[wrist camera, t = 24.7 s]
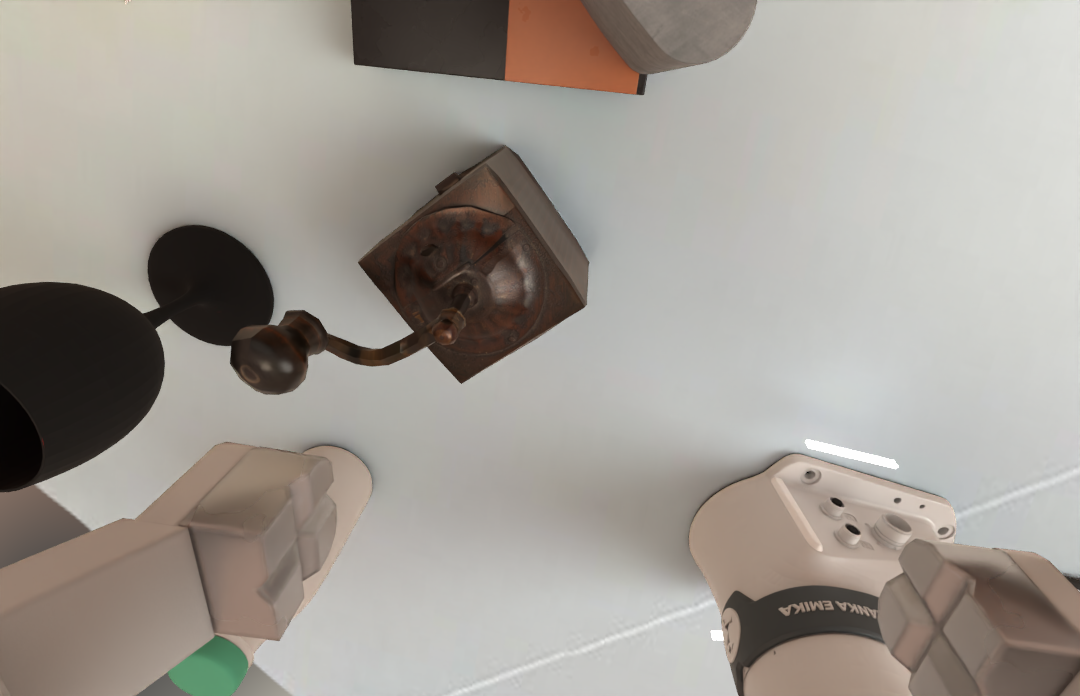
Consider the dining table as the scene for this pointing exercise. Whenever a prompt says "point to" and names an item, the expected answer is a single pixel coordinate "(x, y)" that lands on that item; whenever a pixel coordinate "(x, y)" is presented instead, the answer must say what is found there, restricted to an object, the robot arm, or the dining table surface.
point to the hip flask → (671, 30)
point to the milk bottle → (230, 656)
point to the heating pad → (562, 48)
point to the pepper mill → (447, 282)
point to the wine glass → (111, 349)
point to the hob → (435, 36)
